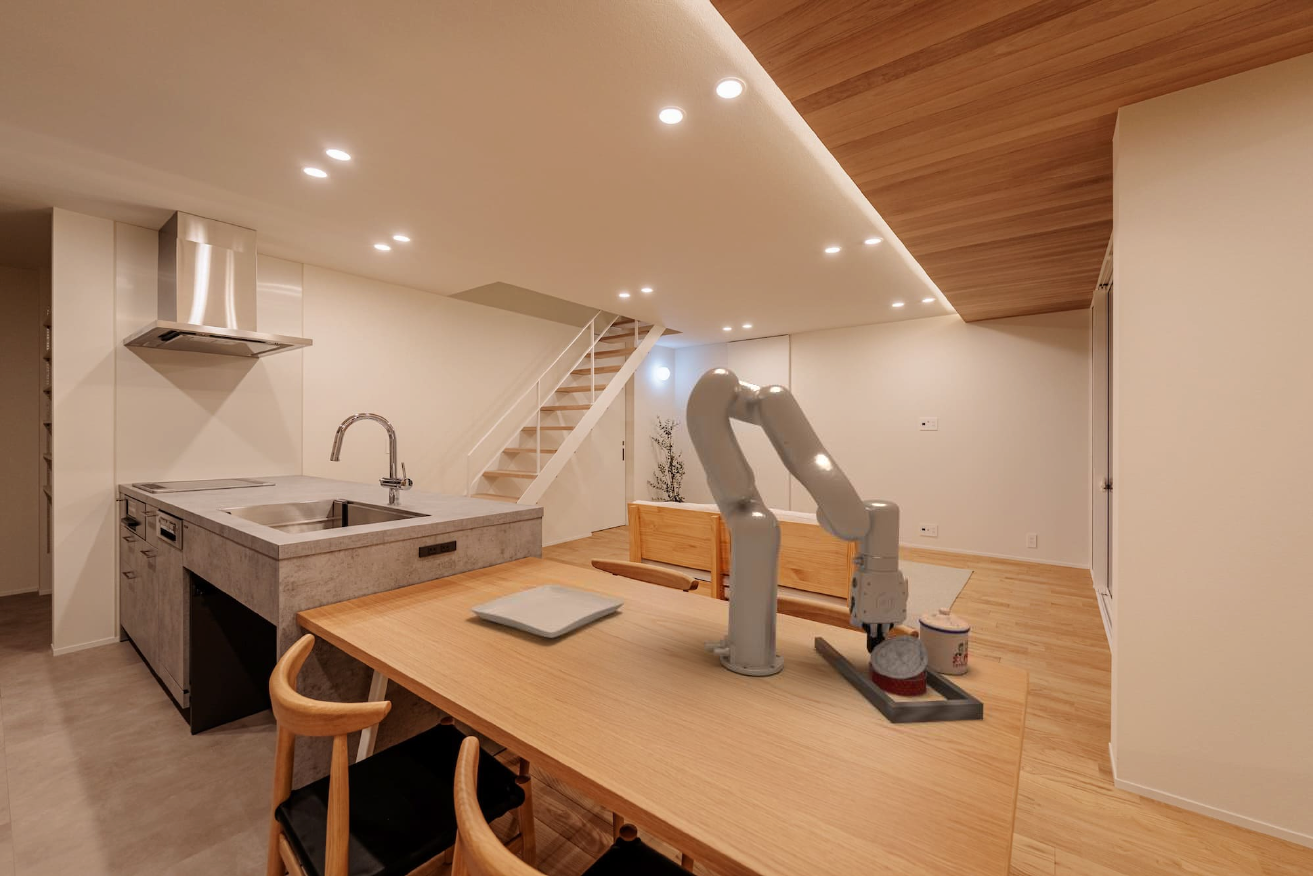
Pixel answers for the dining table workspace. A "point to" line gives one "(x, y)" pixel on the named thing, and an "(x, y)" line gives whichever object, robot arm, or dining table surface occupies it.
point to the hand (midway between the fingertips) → (875, 654)
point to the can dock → (916, 711)
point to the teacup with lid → (945, 641)
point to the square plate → (548, 609)
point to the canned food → (899, 666)
